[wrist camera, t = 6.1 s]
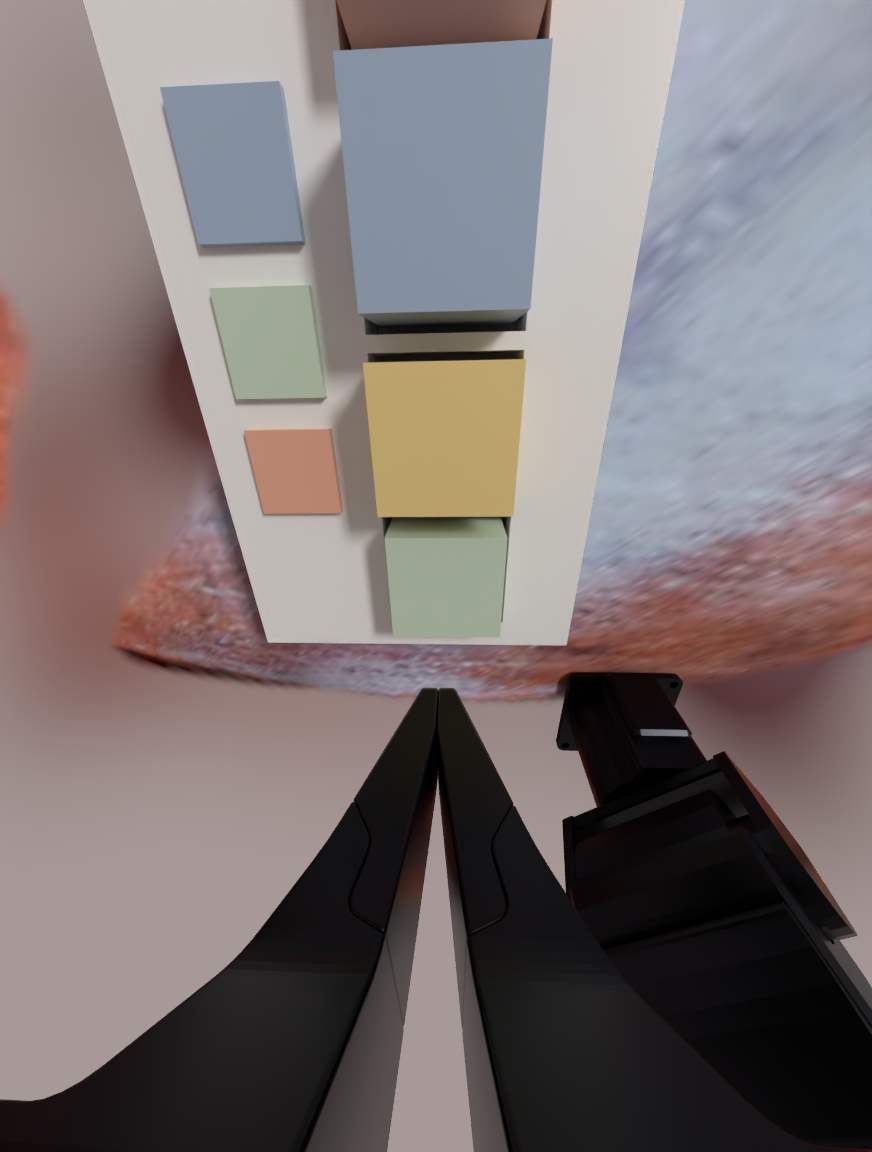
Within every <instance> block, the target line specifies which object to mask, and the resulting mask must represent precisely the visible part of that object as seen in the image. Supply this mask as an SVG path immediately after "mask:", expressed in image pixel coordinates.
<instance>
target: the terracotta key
mask: <svg viewBox="0 0 872 1152" xmlns="http://www.w3.org/2000/svg"><path fill="white" fill-rule="evenodd" d="M336 1H337V4H338V7H339V10H340V14H341V17H342V20H343V23H344V26H345V30H346V33H347V36H348V39H349V42H350V45H351V49H352V50H357V49H375V48H393V47H410V46H428V45H446V44H463V43H481V42H498V41H516V40H534V39H537V35H538V32H539V28H540V24H541V20H542V16H543V12H544V8H545V4H546V0H336Z"/></svg>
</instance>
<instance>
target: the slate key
mask: <svg viewBox="0 0 872 1152" xmlns="http://www.w3.org/2000/svg"><path fill="white" fill-rule="evenodd" d="M552 42H553V38H551V39H534V40H516V41H498V42H481V43H463V44H446V45H428V46H410V47H393V48H375V49H357V50H340V51H333V59H334V70H335V80H336V91H337V101H338V111H339V122H340V132H341V143H342V153H343V163H344V174H345V184H346V195H347V205H348V215H349V226H350V236H351V246H352V257H353V267H354V278H355V288H356V298H357V309H358V314H359V315H361V316H363V317H364V318H366V319H368V320H369V321H371V322H373V323H374V324H376V325H378V326H380V327H404V326H443V325H482V324H512V323H513V322H514V321H516V320H517V319H518V318H519V317H521V316H522V315H523V314H525V313H526V312H527V311H528V310H530V308H531V296H532V284H533V272H534V260H535V247H536V235H537V223H538V211H539V199H540V187H541V175H542V163H543V151H544V139H545V126H546V114H547V102H548V90H549V78H550V66H551V54H552Z"/></svg>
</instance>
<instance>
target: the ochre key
mask: <svg viewBox="0 0 872 1152" xmlns="http://www.w3.org/2000/svg"><path fill="white" fill-rule="evenodd" d="M525 369H526V359H507V360H462V361H416V362H370V363H363V371H364V382H365V392H366V402H367V413H368V423H369V434H370V444H371V454H372V465H373V475H374V486H375V496H376V506H377V517H513V514H514V502H515V490H516V478H517V465H518V453H519V441H520V429H521V417H522V405H523V393H524V381H525Z"/></svg>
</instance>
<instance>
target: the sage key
mask: <svg viewBox="0 0 872 1152" xmlns="http://www.w3.org/2000/svg"><path fill="white" fill-rule="evenodd" d="M384 539H385V551H386V562H387V573H388V584H389V595H390V606H391V617H392V629H393V636H400V637H500V629H501V616H502V603H503V590H504V577H505V564H506V551H507V535H506V532H505V529H504V526H503V523H502V520H501V517H393V518H392V521H391V523H390V526H389V528H388V531H387V533H386V536H385V538H384Z"/></svg>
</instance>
